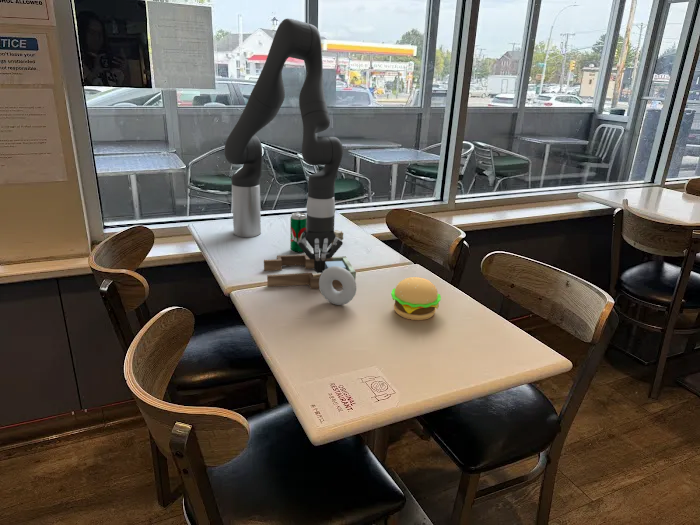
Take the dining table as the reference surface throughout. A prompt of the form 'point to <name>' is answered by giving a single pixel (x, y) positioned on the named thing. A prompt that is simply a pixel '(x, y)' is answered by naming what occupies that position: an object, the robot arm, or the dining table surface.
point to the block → (334, 264)
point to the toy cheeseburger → (415, 298)
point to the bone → (338, 234)
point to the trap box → (300, 277)
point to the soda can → (297, 230)
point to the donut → (345, 280)
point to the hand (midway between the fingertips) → (319, 271)
